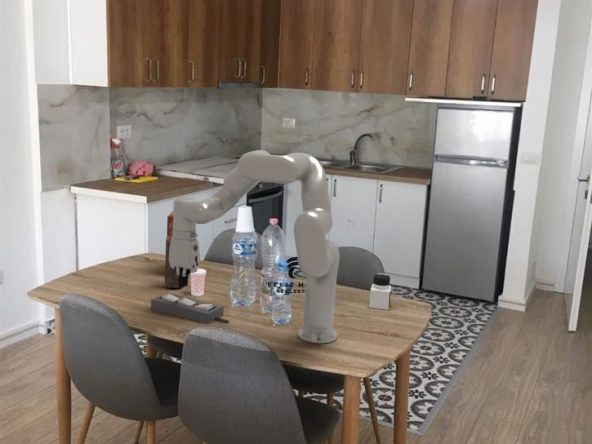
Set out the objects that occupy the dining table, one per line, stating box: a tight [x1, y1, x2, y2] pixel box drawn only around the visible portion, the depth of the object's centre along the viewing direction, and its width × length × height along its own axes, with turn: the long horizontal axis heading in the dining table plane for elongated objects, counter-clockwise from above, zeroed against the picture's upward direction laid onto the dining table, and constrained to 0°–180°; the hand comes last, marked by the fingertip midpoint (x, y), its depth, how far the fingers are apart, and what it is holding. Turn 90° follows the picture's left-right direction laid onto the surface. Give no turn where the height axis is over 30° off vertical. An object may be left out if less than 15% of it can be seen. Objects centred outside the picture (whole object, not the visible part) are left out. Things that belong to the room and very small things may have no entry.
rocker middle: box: [178, 298, 196, 306], centre depth 221 cm, size 5×4×1 cm
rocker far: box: [162, 293, 180, 302], centre depth 224 cm, size 5×4×1 cm
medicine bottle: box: [368, 273, 392, 311], centre depth 238 cm, size 7×7×12 cm
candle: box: [164, 236, 179, 289], centre depth 246 cm, size 8×7×20 cm
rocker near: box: [195, 303, 214, 311], centre depth 218 cm, size 5×4×1 cm
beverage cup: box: [189, 265, 207, 297], centre depth 240 cm, size 6×6×14 cm
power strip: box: [150, 292, 230, 325], centre depth 221 cm, size 29×9×4 cm, turn 62°
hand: (183, 286), depth 221 cm, fingers closed
